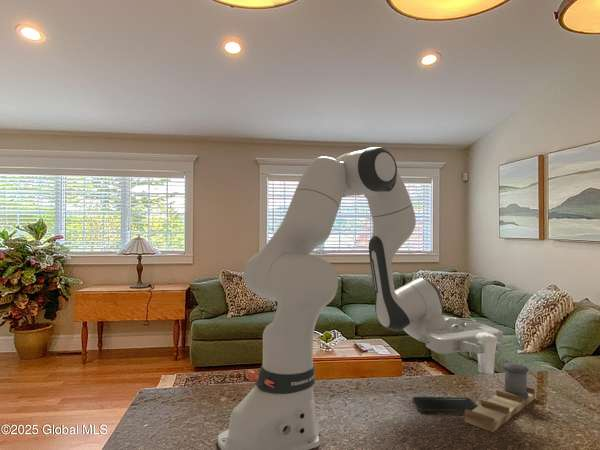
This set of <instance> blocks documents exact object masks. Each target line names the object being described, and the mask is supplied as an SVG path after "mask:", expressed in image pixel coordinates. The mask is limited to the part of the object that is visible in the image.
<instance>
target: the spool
mask: <svg viewBox="0 0 600 450" xmlns="http://www.w3.org/2000/svg"><path fill="white" fill-rule="evenodd" d="M502 365H503V366H502V368H503V370H504V388H503V389H502V390H503V391H505V392H509V393H512V394H515V395H519V396H522V397H524V398H527V397H528V392H527V391H526V390H527V386H528V385H527V383H528V382H527V376H528V375H527V374H528V372H529V368H528V366H525V365H523V364H519V363H511V362H508V363H507V362H505V363H504V364H502Z"/></svg>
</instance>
